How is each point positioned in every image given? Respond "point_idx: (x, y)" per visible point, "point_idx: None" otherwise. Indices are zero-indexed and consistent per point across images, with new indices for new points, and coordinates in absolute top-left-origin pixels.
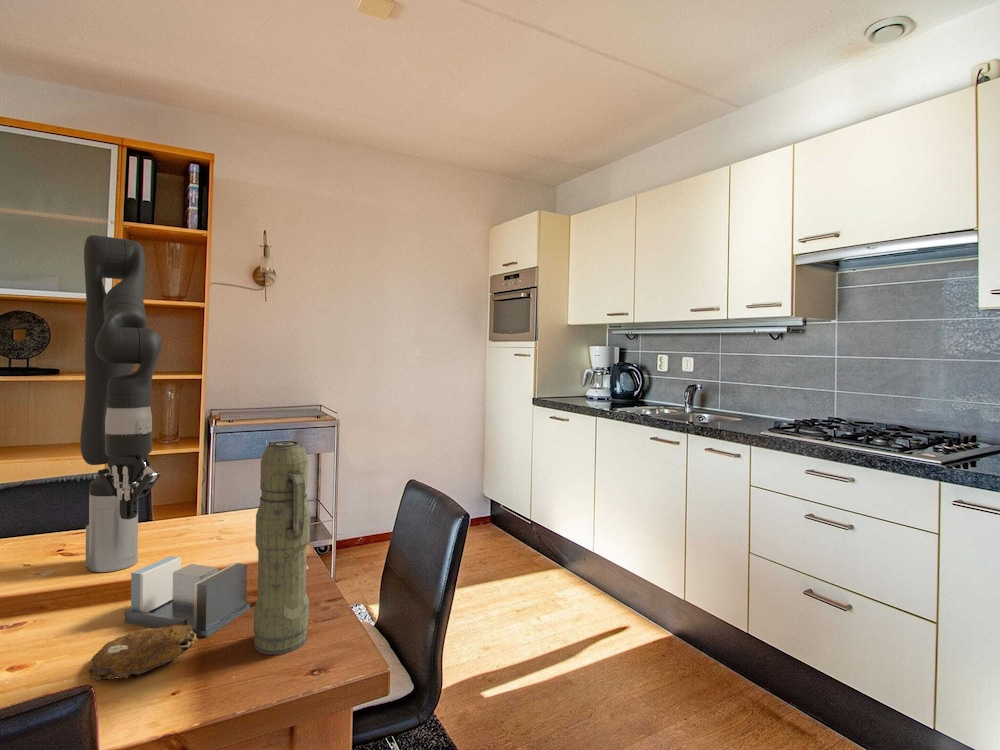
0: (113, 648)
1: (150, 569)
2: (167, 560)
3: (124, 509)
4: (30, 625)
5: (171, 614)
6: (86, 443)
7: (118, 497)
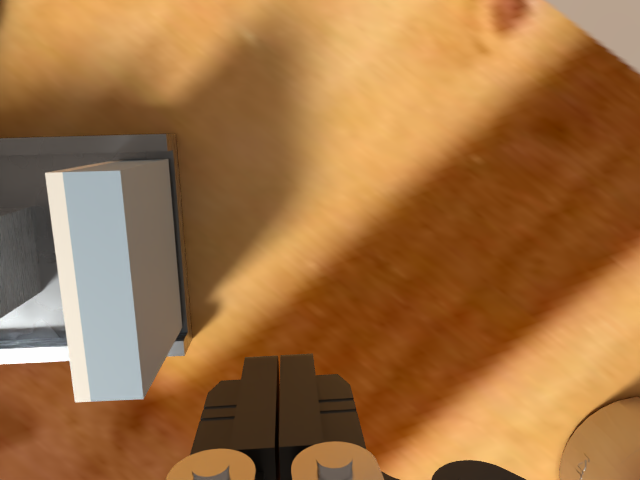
0: None
1: (70, 234)
2: (103, 351)
3: (267, 394)
4: (462, 16)
5: (34, 206)
6: None
7: (341, 453)
